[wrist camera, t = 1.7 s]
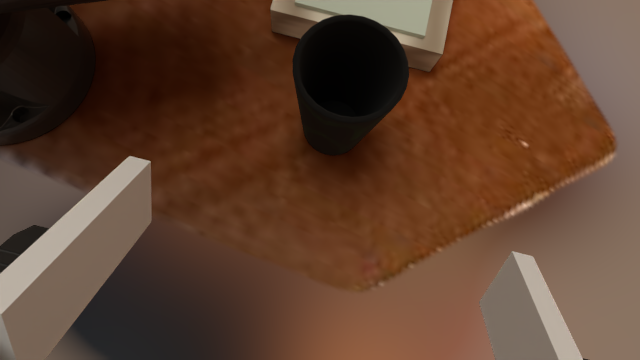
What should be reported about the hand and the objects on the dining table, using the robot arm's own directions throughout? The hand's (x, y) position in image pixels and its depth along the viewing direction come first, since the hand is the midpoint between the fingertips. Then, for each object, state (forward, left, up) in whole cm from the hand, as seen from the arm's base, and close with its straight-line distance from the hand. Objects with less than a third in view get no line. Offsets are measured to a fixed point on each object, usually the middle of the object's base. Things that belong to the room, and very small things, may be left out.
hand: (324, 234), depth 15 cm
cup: (0, +12, -21) cm, 24 cm away
